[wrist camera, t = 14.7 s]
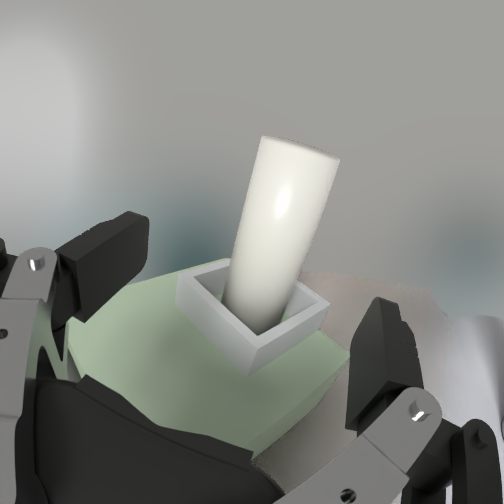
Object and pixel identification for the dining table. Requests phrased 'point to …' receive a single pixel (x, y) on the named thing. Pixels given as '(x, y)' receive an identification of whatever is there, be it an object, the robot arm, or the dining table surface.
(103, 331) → the pale green toy car
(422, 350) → the dining table surface
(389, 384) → the robot arm
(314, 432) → the dining table surface
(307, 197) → the spout tube
